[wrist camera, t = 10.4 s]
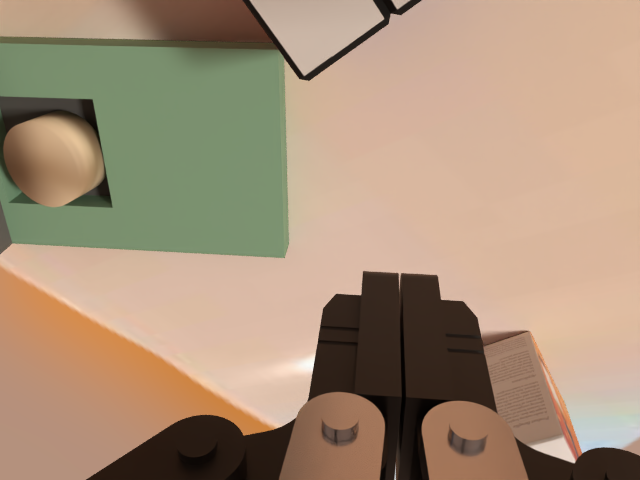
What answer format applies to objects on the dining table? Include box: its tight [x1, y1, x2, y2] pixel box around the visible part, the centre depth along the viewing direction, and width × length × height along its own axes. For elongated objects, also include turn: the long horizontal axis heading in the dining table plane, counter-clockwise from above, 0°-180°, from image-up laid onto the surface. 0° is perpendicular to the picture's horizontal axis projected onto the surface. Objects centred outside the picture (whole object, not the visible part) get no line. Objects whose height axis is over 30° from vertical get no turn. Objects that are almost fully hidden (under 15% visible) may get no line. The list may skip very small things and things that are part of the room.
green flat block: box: [0, 37, 289, 258], centre depth 39 cm, size 14×21×5 cm, turn 90°
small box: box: [483, 331, 582, 463], centre depth 42 cm, size 8×6×10 cm
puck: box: [3, 110, 106, 207], centre depth 39 cm, size 6×6×3 cm
